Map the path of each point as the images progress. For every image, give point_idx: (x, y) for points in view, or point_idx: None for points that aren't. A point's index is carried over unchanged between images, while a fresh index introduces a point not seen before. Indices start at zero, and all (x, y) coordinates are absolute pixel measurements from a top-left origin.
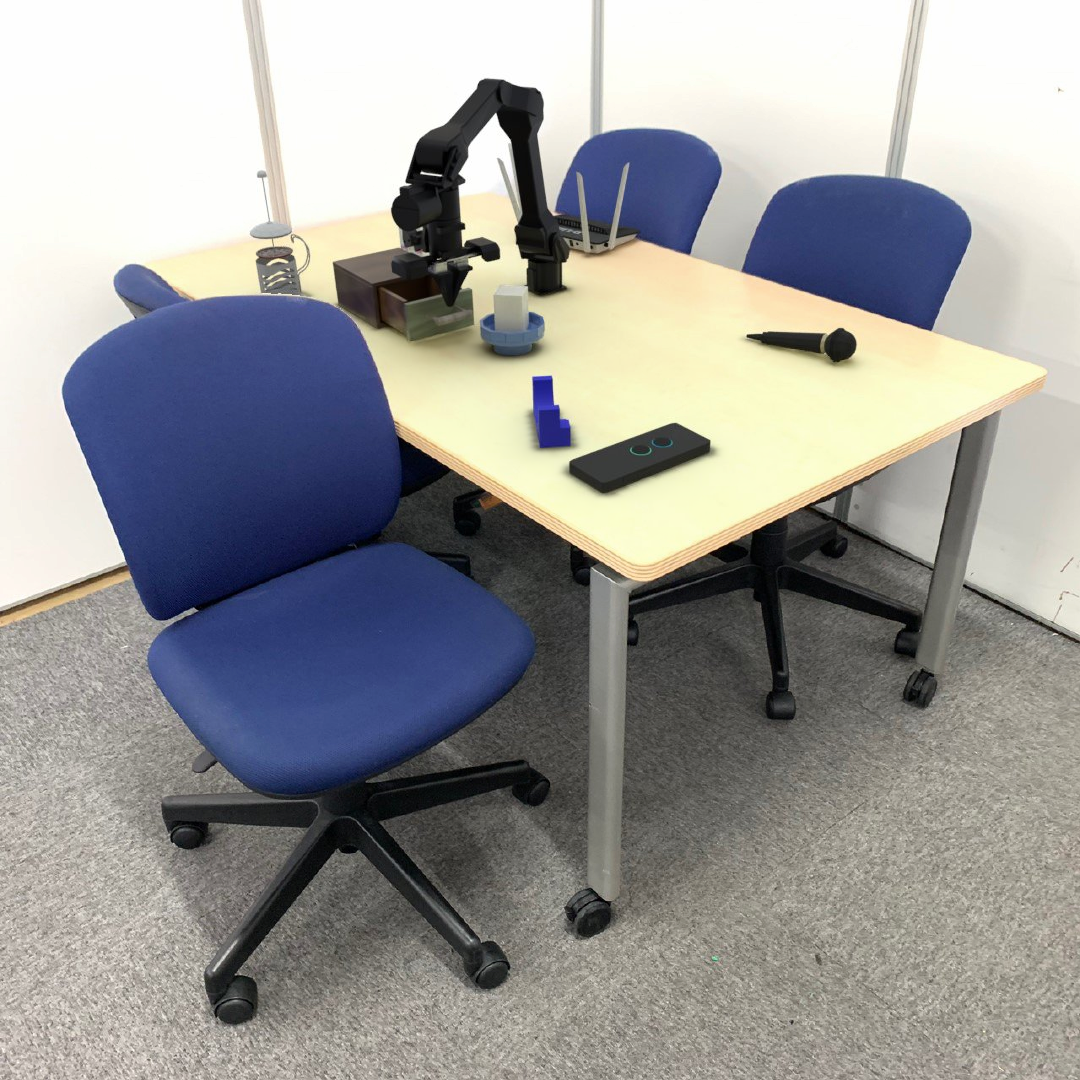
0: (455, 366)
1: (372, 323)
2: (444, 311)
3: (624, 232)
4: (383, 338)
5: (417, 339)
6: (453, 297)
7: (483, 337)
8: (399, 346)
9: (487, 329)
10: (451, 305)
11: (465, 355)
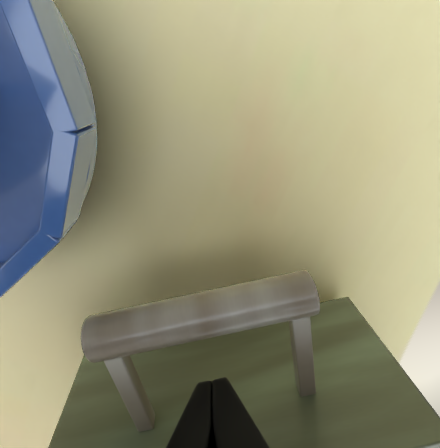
0: (286, 13)
1: None
2: None
3: None
4: None
5: (322, 304)
6: (204, 437)
7: (87, 97)
8: (366, 302)
9: (33, 36)
10: (212, 385)
11: (197, 125)
